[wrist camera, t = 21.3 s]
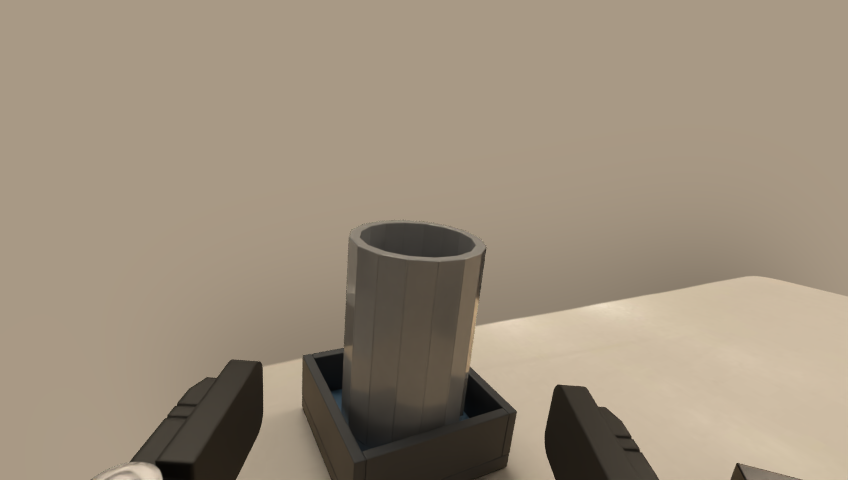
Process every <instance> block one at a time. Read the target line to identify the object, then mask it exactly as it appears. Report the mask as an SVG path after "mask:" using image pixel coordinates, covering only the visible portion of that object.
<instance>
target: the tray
mask: <svg viewBox="0 0 848 480" xmlns="http://www.w3.org/2000/svg"><path fill="white" fill-rule="evenodd" d="M343 357H344V348H341V349H336V350H330V351H325V352H319V353H314V354H308V355H303V372H302V395H303V396H302V407H303V409H304V412H305V414H306V417H307V419H308V422H309V424H310V427H311V429H312V432H313V434H314V437H315V439H316V442H317V444H318V447H319V449H320V452H321V454H322V457H323V459H324V462H325V464H326V467H327V469H328V472H329V474H330V477H331V479H332V480H473V479H475V478H478V477H480V476H483V475H485V474H488V473H490V472H493V471H496V470H498V469H501V468H503V467H506V466H507V462H508V456H509V452H510V446H511V441H512V435H513V430H514V424H515V419H516V413H517V411H516V410H515V409H514V408H513V407H512V406H511V405H510V404H509V403H507V402H506V401H505V400H504V399H503V398H502V397H501V396H500V395H499V394H498V393H497V392H496V391H495V390H494V389H493V388H492V387H491V386H490V385H489V384H488V383H487V382H485V381H484V380H483V379H482V378H481V377H480V376H479V375H478V374H477V373H476V372H475V371H474V370H473V369H472V368H471V367H470V368H469V375H468V382H467V389H466V396H465V403H464V411H463V418H462V421H459V422H456V423H453V424H449V425H446V426H443V427H440V428H436V429H433V430H430V431H427V432H423V433H420V434H417V435H414V436H411V437H407V438H404V439H401V440H398V441H394V442H391V443H388V444H385V445H381V446H378V447H375V448H372V449H368V450H365V451H363V452H361V450H360V448H359V446H358V444H357V442H356V440H355V438H354V436H353V434H352V432H351V430H350V428H349V426H348V424H347V422H346V420H345V418H344V416H343V415H342V413H341V402H342V380H343Z"/></svg>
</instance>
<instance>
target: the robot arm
mask: <svg viewBox="0 0 848 480" xmlns="http://www.w3.org/2000/svg"><path fill="white" fill-rule="evenodd" d="M262 417H263V368H262V364H261V362H258V361H245V360H230V361H229V362H228V364H227V365H226V366H225V368H224V369H223V370H222V372H221V373H220V375H219V376H218V377H217V378H209V377H207V378H205V379H204V380H202V381H201V382H199V383H198V384H196V385H194V386H193V387H191V388H190V389H189V390H188V391H187V392H186V393H185V395H184V396H183V397H182V398H181V399H180V401H179V402H178V404H177V406H175V407H174V408H173V409H172V411H171V412H170V413H169V414H168V417H167V418H165V419H164V420H163V422H162V423H161V424H160V425H159V426H158V428H157V429H156V430H155V432H154V433H153V434H152V435H151V436H150V437H149V439H148V440H147V441H146V442H145V444H144V445H143V446H142V447H141V448H140V450H139V451H138V452H137V453H136V455H135V456H134V457H133V458H132V460H131V461H130V462H129V463H124V464H121V465H117V466H115V467H112V468H109V469H107V470H105V471H103V472H102V473H100V474H98V475H97V476H95V477H94V478H93V479H91V480H236V478H237V476H238V474H239V472H240V470H241V468H242V466H243V464H244V462H245V460H246V458H247V456H248V454H249V452H250V450H251V448H252V446H253V444H254V442H255V440H256V438H257V436H258V433H259V430H260V427H261V423H262ZM545 449H546V454H547V458H548V460H549V463H550V466H551V469H552V471H553V474H554V477H555V479H556V480H659V479H658V477H657V475H656V474H655V472H654V471H653V469H652V468H651V466H650V465H649V463H648V461H647V460H646V458H645V457H644V455H643V454H642V453H640V449H639V447H638V446H637V444H636V443H635V441H634V440H633V439H631V435H630V434H629V432H628V430H627V429H626V427H625V426H624V424H623V423H622V421H621V420H620V419H618V418H617V417H616V416H615V415H614V414H613V413H611V412H610V411H609V410H608V409H607V408H606V407H598V406H597V404H596V403H595V401H594V399H593V398H592V396H591V394H590V393H589V391H588V389H587V388H586V387H581V386H568V385H557V386H556V387H555V389H554V392H553V396H552V401H551V406H550V411H549V415H548V420H547V425H546V430H545Z"/></svg>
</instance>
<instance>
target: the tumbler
mask: <svg viewBox="0 0 848 480" xmlns="http://www.w3.org/2000/svg"><path fill="white" fill-rule="evenodd" d="M485 253H486V245H485V244H484V242H483V241H482V239H480V238H479V237H477V236H475V235H473V234H471V233H469V232H467V231H464V230H461V229H458V228H454V227H451V226H447V225H442V224H436V223H430V222H424V221H410V220H391V221H377V222H372V223H366V224H362V225H360V226H358V227H356V228H354V229H352V230H351V232H350V236H349V245H348V268H347V290H346V314H345V335H344V357H343V380H342V402H341V413H342V415H343V416H344V418H345V420H346V422H347V424H348V426H349V428H350V430H351V432H352V434H353V436H354V438H355V440H356V442H357V444H358V446H359V448H360V450H361V452H363V451H365V450H368V449H372V448H375V447H378V446H381V445H385V444H388V443H391V442H394V441H398V440H401V439H404V438H407V437H411V436H414V435H417V434H420V433H423V432H427V431H430V430H433V429H436V428H440V427H443V426H446V425H449V424H453V423H456V422H459V421H462V418H463V411H464V403H465V396H466V389H467V382H468V375H469V368H470V361H471V353H472V346H473V339H474V332H475V325H476V318H477V310H478V303H479V296H480V289H481V282H482V275H483V268H484V261H485Z"/></svg>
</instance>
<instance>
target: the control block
mask: <svg viewBox="0 0 848 480" xmlns="http://www.w3.org/2000/svg"><path fill="white" fill-rule="evenodd" d="M731 480H801V479H798V478H794V477H790V476H786V475H782V474H778V473H774V472H770V471H767V470H763V469H759V468H755V467H751V466H747V465H743V464H739V463H737V464H736V466H735V469H734V472H733V474H732V477H731Z"/></svg>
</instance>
